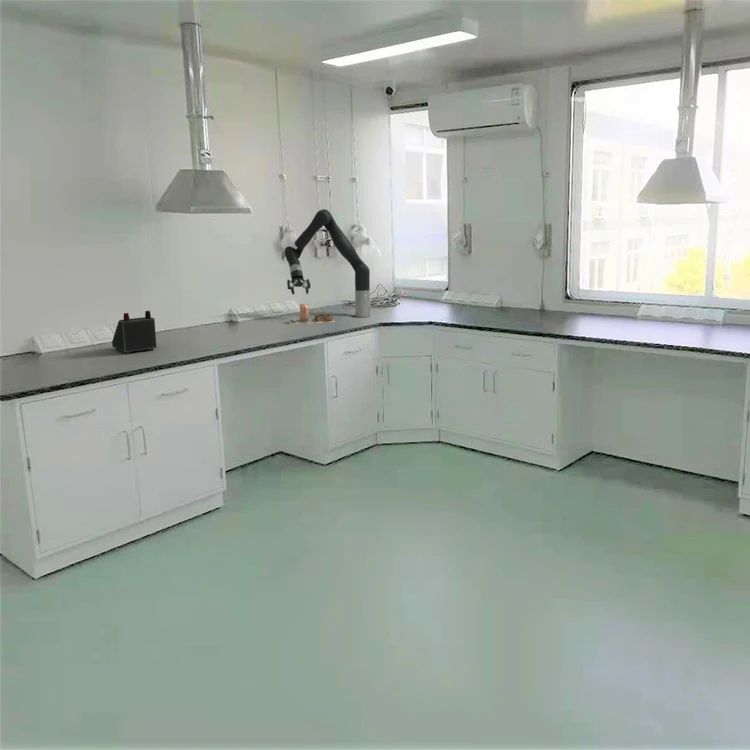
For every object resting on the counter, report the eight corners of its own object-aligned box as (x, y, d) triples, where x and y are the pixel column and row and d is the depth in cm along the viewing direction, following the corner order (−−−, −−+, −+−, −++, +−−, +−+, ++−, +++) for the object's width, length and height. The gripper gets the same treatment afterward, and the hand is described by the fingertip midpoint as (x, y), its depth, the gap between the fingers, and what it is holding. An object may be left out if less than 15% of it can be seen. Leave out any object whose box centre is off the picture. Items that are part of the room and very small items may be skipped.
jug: (307, 319, 428) (307, 303, 426) (310, 321, 421) (310, 305, 419) (299, 320, 427) (299, 304, 424) (301, 322, 420) (301, 305, 417)
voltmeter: (143, 345, 359) (140, 307, 354) (156, 350, 347) (154, 311, 342) (112, 349, 349) (109, 310, 344) (125, 355, 337) (121, 314, 332)
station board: (330, 319, 437) (330, 313, 436) (335, 323, 424) (335, 316, 423) (292, 321, 430) (292, 315, 429) (297, 325, 417) (296, 318, 416)
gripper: (285, 269, 433) (289, 290, 426) (308, 269, 438) (312, 289, 430) (284, 277, 440) (288, 297, 432) (306, 276, 444) (310, 296, 436)
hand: (300, 293), depth 431 cm, fingers open, 8 cm apart
